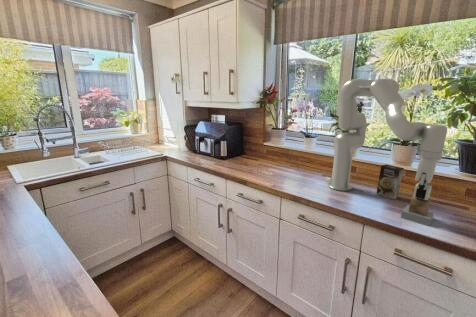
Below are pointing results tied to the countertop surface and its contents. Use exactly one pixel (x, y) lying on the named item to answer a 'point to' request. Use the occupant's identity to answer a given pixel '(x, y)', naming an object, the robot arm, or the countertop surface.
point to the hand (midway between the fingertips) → (421, 195)
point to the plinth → (417, 216)
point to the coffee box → (389, 181)
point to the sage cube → (428, 190)
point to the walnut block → (419, 206)
